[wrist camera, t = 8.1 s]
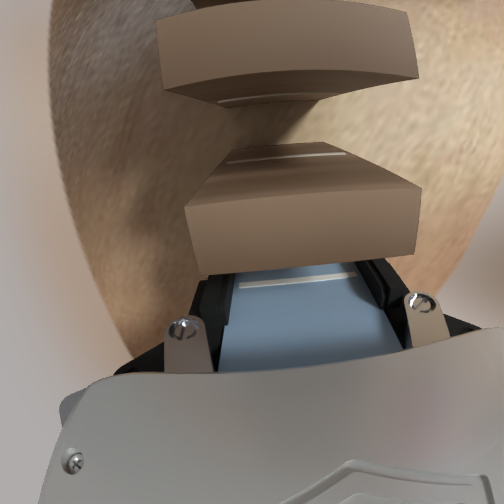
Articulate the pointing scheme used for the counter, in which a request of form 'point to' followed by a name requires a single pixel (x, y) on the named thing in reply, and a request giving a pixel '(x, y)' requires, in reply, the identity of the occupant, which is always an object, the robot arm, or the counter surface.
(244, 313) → the domino
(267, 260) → the domino
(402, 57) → the domino
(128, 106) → the counter surface
